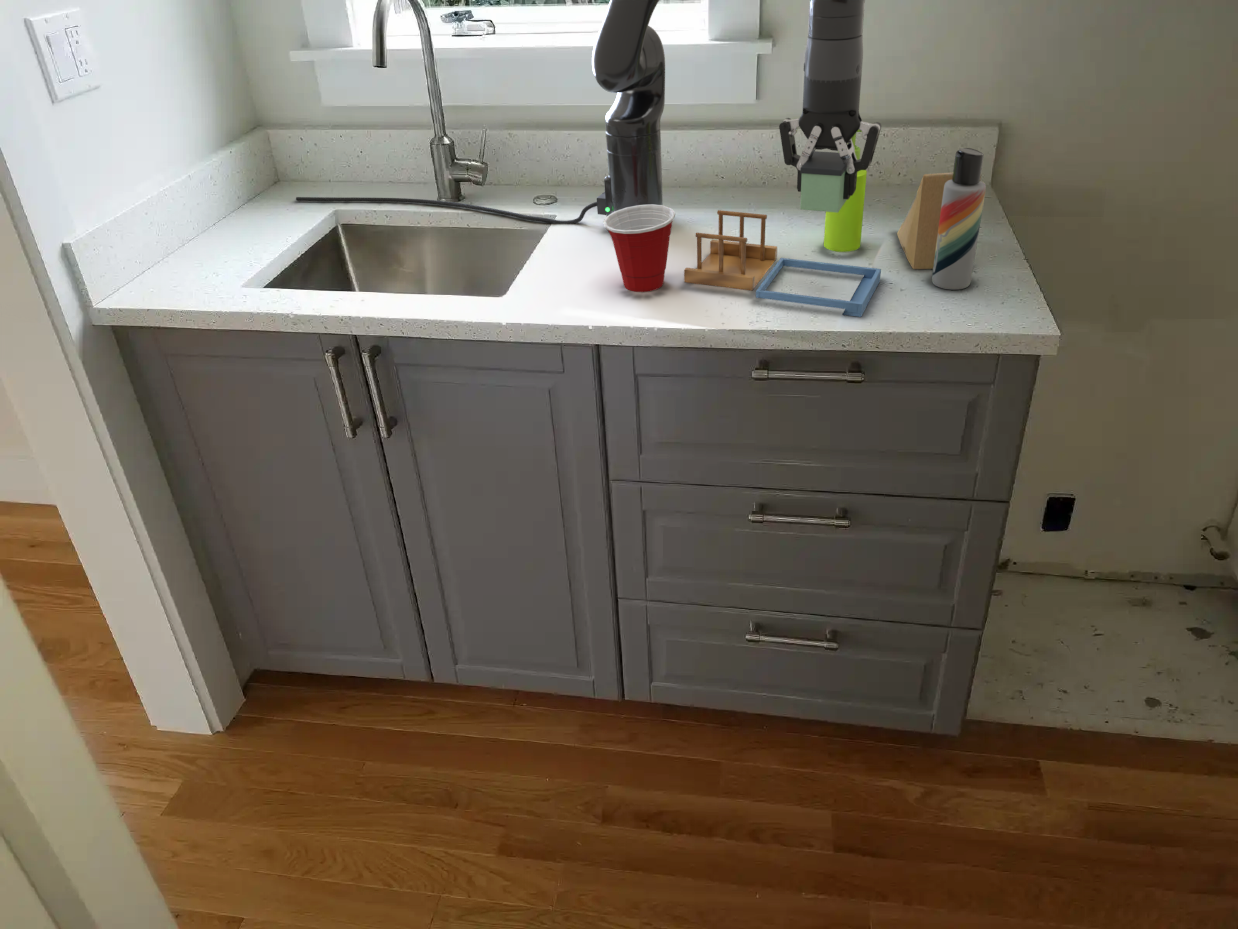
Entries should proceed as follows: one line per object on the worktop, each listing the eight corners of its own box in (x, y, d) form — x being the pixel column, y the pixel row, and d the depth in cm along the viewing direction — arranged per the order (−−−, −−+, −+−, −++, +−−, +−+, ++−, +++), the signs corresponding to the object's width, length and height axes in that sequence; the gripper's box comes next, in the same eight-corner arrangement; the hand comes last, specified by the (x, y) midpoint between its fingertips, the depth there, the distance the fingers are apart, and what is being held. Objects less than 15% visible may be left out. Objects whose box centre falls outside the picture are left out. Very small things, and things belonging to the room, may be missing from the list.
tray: (755, 303, 145) (755, 290, 144) (780, 269, 155) (780, 257, 154) (861, 317, 140) (862, 304, 138) (879, 280, 149) (881, 268, 148)
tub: (798, 209, 138) (800, 167, 134) (812, 192, 143) (814, 150, 140) (838, 213, 136) (841, 170, 132) (851, 194, 141) (854, 153, 138)
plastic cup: (608, 276, 156) (604, 203, 150) (676, 274, 156) (674, 200, 149) (606, 305, 147) (601, 229, 141) (677, 303, 147) (676, 226, 140)
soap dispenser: (866, 257, 157) (878, 131, 146) (822, 256, 158) (831, 131, 147) (866, 244, 162) (877, 120, 150) (823, 243, 163) (831, 120, 152)
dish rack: (684, 287, 151) (683, 234, 146) (712, 256, 161) (712, 206, 156) (752, 296, 147) (753, 242, 142) (776, 264, 157) (778, 212, 152)
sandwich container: (947, 231, 164) (960, 141, 156) (968, 268, 152) (983, 172, 143) (895, 233, 165) (905, 143, 156) (911, 269, 152) (923, 174, 144)
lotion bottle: (926, 276, 150) (943, 145, 138) (962, 273, 150) (982, 142, 139) (939, 291, 145) (958, 157, 134) (976, 288, 145) (998, 153, 134)
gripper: (893, 66, 130) (881, 191, 139) (787, 63, 135) (783, 184, 144) (881, 79, 124) (870, 209, 134) (772, 76, 129) (769, 200, 139)
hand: (825, 195), depth 139 cm, fingers closed on tub, 5 cm apart
